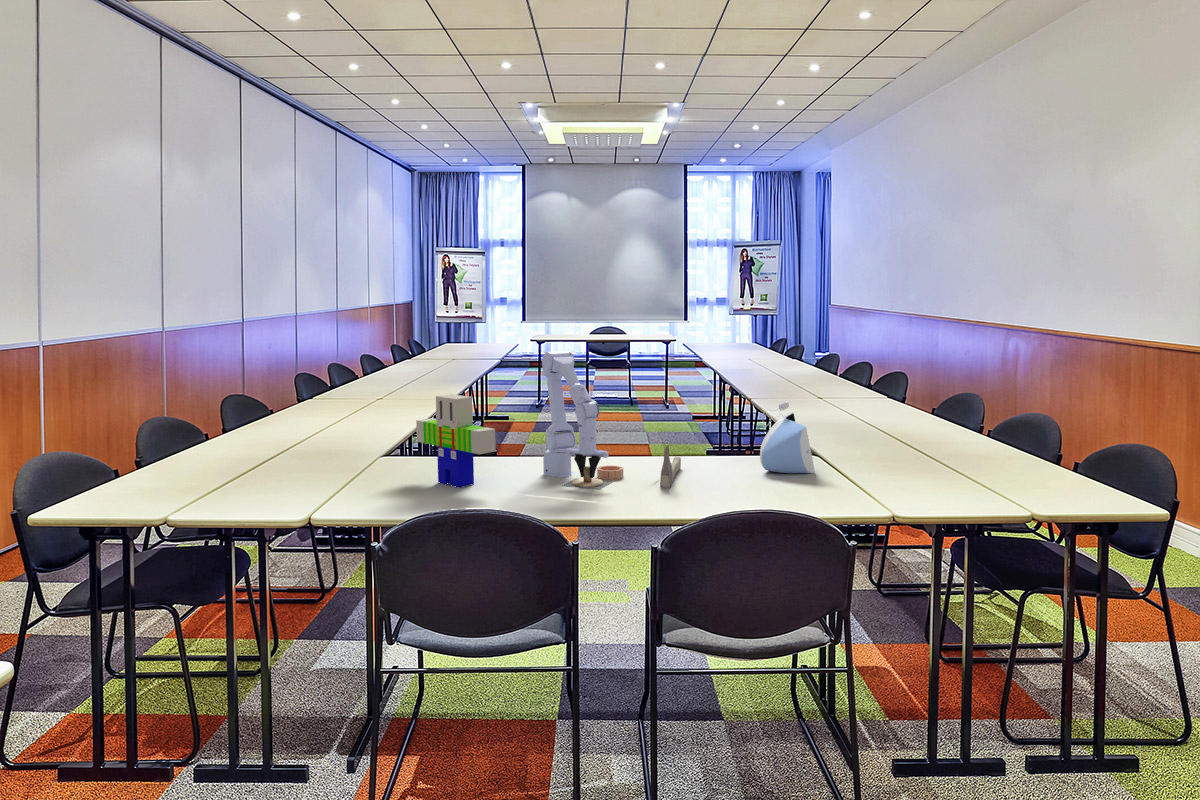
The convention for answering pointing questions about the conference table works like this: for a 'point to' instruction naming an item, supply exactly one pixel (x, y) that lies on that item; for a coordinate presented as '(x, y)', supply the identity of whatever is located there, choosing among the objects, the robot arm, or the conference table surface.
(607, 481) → the mat
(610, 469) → the bowl
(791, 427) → the retro desktop computer
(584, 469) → the lid
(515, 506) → the conference table surface
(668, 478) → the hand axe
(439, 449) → the toy
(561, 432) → the robot arm
